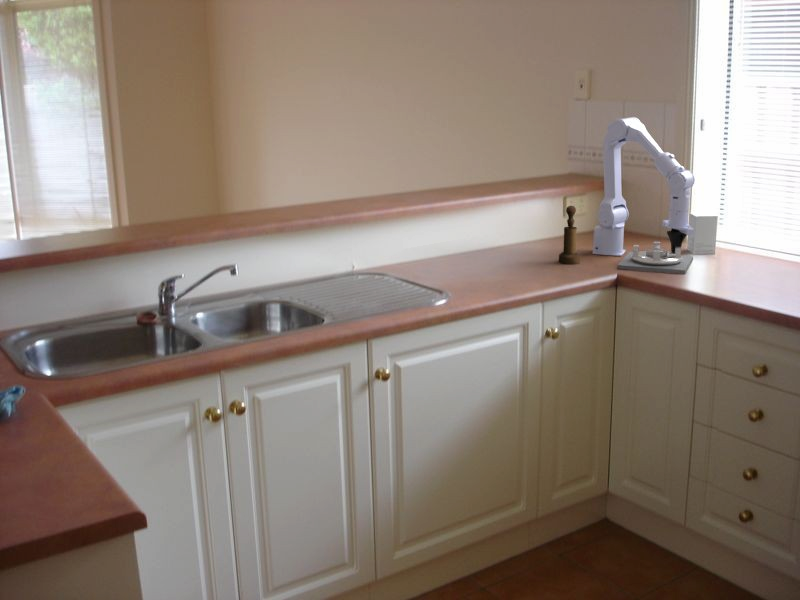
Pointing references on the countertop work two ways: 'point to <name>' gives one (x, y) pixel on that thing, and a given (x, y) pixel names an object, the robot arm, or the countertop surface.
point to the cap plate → (675, 268)
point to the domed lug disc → (656, 255)
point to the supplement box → (702, 233)
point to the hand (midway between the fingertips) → (675, 253)
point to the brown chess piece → (570, 240)
